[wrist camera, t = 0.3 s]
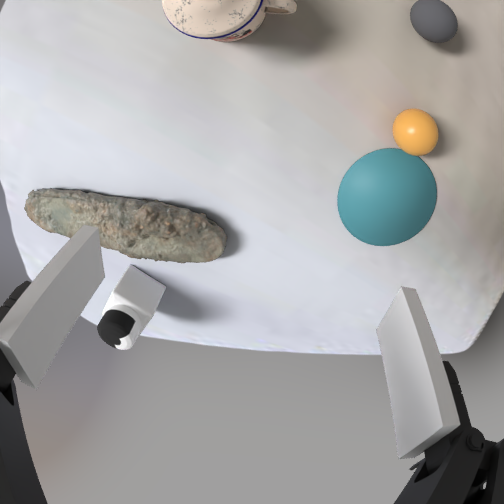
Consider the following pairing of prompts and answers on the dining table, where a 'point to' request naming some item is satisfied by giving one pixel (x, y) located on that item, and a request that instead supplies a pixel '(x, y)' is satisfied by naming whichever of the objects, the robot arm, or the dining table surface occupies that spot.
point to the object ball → (415, 132)
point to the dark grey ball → (433, 20)
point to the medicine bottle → (129, 308)
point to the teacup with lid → (222, 16)
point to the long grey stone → (129, 224)
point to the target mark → (387, 197)
